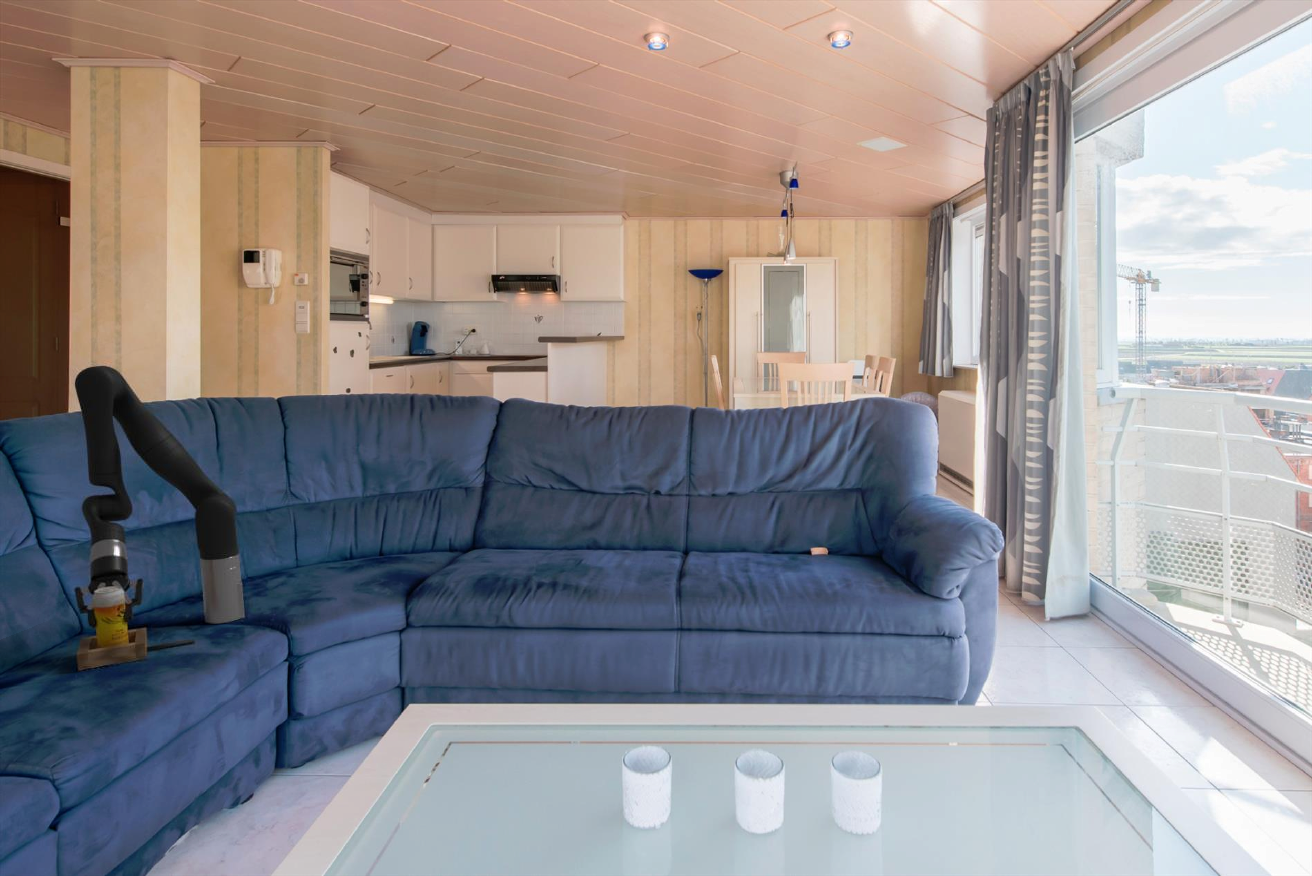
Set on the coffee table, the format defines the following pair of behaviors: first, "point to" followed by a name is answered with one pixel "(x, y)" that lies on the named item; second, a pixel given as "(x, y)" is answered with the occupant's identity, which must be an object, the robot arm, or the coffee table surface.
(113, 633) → the soda can
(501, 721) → the coffee table surface
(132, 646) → the walnut collar
